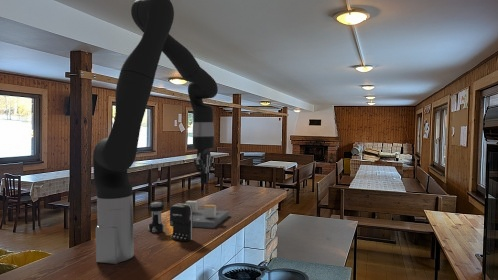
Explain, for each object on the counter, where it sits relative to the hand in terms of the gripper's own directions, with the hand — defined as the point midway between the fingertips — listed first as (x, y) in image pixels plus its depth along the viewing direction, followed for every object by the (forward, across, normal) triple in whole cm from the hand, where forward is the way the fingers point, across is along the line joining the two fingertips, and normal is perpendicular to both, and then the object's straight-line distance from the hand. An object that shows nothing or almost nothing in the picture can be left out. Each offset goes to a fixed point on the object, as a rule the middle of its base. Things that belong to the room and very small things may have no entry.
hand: (204, 183), depth 128 cm
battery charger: (+16, -16, +2) cm, 22 cm away
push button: (+16, -8, +15) cm, 24 cm away
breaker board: (+16, +8, +5) cm, 19 cm away
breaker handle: (+13, +5, 0) cm, 14 cm away
